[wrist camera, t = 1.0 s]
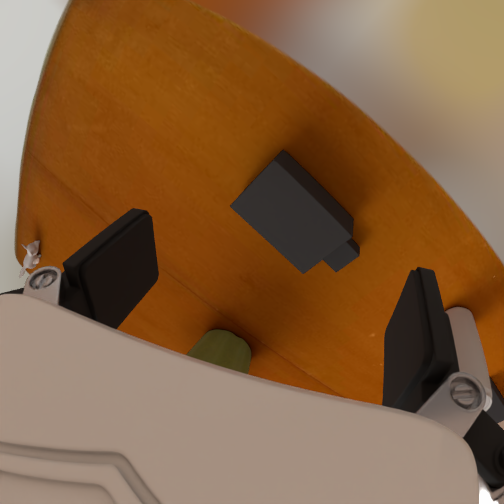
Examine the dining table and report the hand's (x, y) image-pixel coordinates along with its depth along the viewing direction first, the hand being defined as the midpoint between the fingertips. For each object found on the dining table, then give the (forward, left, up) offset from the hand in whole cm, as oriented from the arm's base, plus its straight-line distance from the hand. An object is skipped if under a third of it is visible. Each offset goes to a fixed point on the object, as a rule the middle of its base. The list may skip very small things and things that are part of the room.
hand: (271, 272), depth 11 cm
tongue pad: (+6, +3, -19) cm, 20 cm away
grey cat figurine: (+44, -23, -19) cm, 53 cm away
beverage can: (+1, +24, -19) cm, 30 cm away
